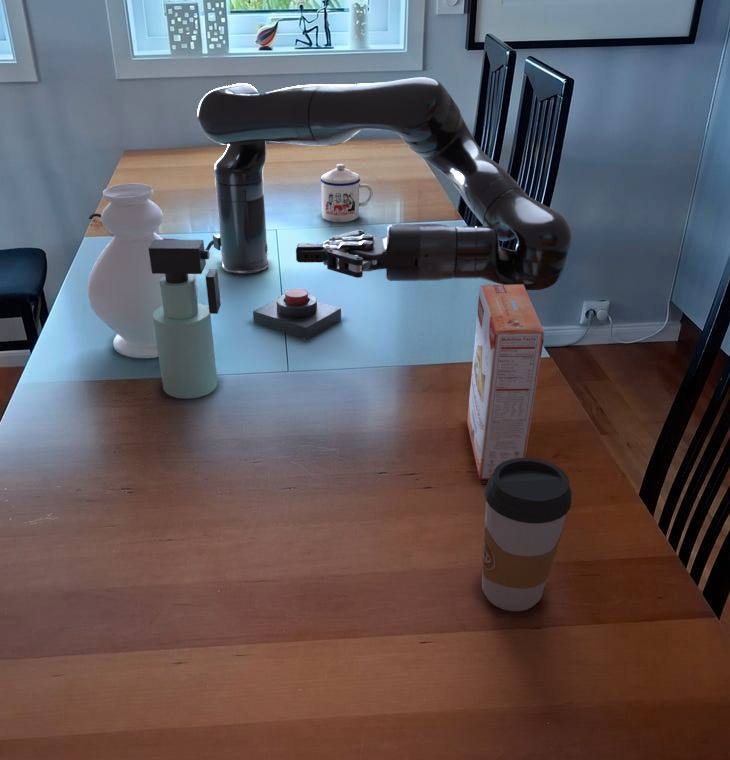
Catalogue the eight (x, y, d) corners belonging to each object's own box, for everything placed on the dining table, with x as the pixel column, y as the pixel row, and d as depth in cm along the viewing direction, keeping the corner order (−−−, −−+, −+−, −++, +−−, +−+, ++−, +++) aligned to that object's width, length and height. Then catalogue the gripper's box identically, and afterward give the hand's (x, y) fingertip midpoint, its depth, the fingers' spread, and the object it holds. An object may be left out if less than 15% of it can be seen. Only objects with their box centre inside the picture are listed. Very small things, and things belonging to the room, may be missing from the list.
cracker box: (463, 424, 115) (478, 282, 102) (506, 424, 115) (526, 282, 102) (475, 481, 104) (494, 329, 91) (523, 481, 103) (548, 329, 91)
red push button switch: (253, 322, 144) (252, 301, 141) (289, 304, 150) (288, 283, 147) (306, 339, 138) (305, 317, 135) (341, 319, 144) (341, 298, 142)
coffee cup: (464, 569, 90) (478, 457, 81) (537, 564, 91) (559, 452, 82) (482, 622, 84) (499, 507, 74) (561, 616, 84) (588, 501, 75)
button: (280, 303, 141) (280, 293, 140) (295, 295, 144) (294, 286, 143) (298, 308, 139) (298, 298, 138) (312, 301, 142) (312, 291, 141)
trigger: (209, 313, 116) (205, 276, 113) (212, 305, 119) (209, 268, 115) (217, 313, 116) (213, 276, 113) (220, 305, 119) (217, 269, 115)
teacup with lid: (321, 223, 187) (320, 170, 180) (321, 211, 194) (320, 159, 187) (373, 222, 187) (374, 169, 180) (371, 210, 194) (372, 158, 187)
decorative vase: (163, 311, 148) (143, 168, 133) (224, 340, 138) (210, 189, 123) (77, 342, 138) (45, 191, 123) (137, 376, 128) (110, 216, 113)
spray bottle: (157, 398, 122) (135, 254, 109) (169, 372, 129) (149, 233, 116) (217, 399, 122) (202, 254, 108) (226, 373, 128) (212, 234, 115)
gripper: (420, 210, 115) (299, 211, 116) (424, 241, 104) (291, 242, 105) (417, 262, 119) (301, 262, 121) (421, 297, 109) (293, 297, 110)
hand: (296, 253), depth 113 cm, fingers closed
